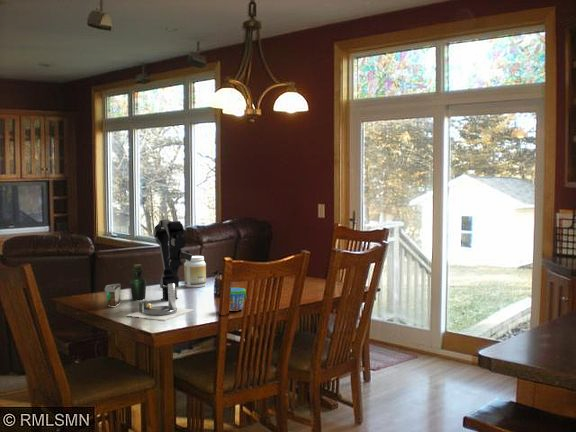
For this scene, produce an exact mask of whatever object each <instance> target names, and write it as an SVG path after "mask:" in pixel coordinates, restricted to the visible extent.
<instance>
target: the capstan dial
mask: <svg viewBox="0 0 576 432" xmlns="http://www.w3.org/2000/svg"><path fill="white" fill-rule="evenodd" d="M167 301H168V305H156V306H155V305H154V306H152V303H150V302H147V304H146V309H144V308H143V310H144V314H147V315H168V314H172V313H175V312H177V308H178V307H176V299H175V284H174V283H170V284H168V300H167Z"/></svg>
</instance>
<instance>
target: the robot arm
mask: <svg viewBox="0 0 576 432" xmlns="http://www.w3.org/2000/svg"><path fill="white" fill-rule="evenodd" d="M182 236H185V227H184V225H183V223H182V222H181V221H180V220H174V221H172V220H170V219H160V220H159V221H158V224H157V223H156V225H155V226H154V230H153V238H154V241H155V243H156V244H158V245H159V249H160V251H159V252H160V256H161V261H162V262H161V263H162V268H163V269H162V270H163V272H162V274H161V278H160V281H159V288H160V289H162V298H160V300H161V301H168V284H170V283H174V284H175V300H178V299H179V297H178V293H177V288H179V285H180V277H179V276H178V273H179V268H180V267H182V266H183V265H184V263H183V259H184V260H185V261H186V260H188V261H191V258H192V256H193V254H192V253H190V251H189V250H185V251H183V250H182V249H183V248H184V247H186V245H187V241H186V239H185V238H184V237H182Z"/></svg>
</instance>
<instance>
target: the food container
mask: <svg viewBox="0 0 576 432" xmlns="http://www.w3.org/2000/svg"><path fill="white" fill-rule="evenodd" d="M121 287H122V286H121V283H113V284H107V285H105V287H104V292H105V293H106V303H107V306H108V305H110V306H116V305H117V304H119V303H120V304H121Z"/></svg>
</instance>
